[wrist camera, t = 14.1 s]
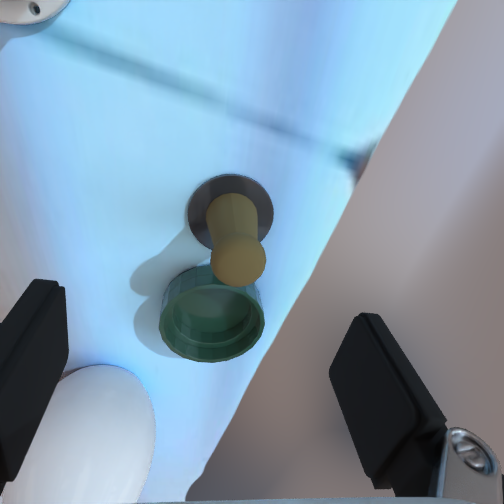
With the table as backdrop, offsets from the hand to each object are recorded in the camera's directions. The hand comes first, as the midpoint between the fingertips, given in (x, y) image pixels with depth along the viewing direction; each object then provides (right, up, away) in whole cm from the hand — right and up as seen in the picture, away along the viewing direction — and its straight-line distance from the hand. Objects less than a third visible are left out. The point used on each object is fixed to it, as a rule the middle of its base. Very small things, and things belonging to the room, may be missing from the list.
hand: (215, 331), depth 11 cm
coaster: (-1, +7, +29) cm, 30 cm away
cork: (-1, +7, +29) cm, 30 cm away
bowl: (-4, -4, +36) cm, 36 cm away
